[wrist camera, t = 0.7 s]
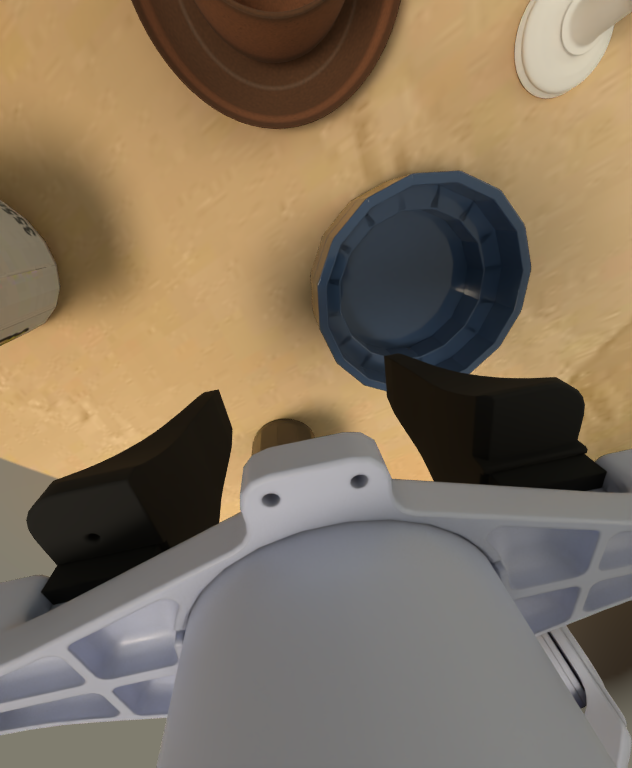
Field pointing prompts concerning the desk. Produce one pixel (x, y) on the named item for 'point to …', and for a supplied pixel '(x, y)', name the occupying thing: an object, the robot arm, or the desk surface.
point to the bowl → (420, 274)
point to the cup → (281, 434)
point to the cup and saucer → (270, 52)
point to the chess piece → (563, 42)
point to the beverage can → (24, 276)
